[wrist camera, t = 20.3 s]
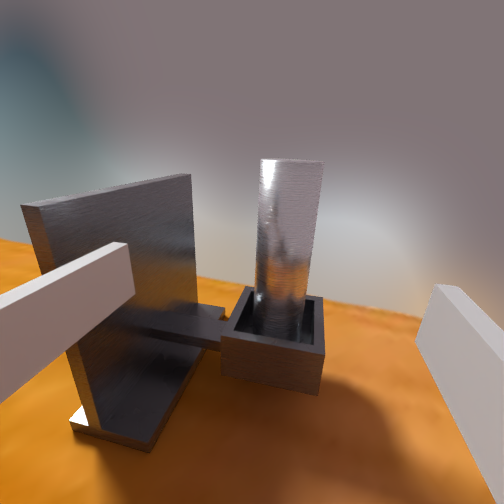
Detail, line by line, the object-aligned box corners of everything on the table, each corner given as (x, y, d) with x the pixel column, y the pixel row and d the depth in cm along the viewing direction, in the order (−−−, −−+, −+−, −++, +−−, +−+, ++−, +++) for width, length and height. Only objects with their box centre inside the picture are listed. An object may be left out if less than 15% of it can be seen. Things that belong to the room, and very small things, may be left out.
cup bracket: (72, 430, 21) (-7, 201, 14) (178, 306, 37) (167, 172, 30) (310, 501, 17) (366, 239, 10) (313, 330, 34) (335, 183, 27)
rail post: (246, 353, 23) (254, 160, 17) (257, 322, 27) (266, 157, 21) (297, 363, 22) (325, 164, 16) (300, 330, 26) (323, 160, 20)
